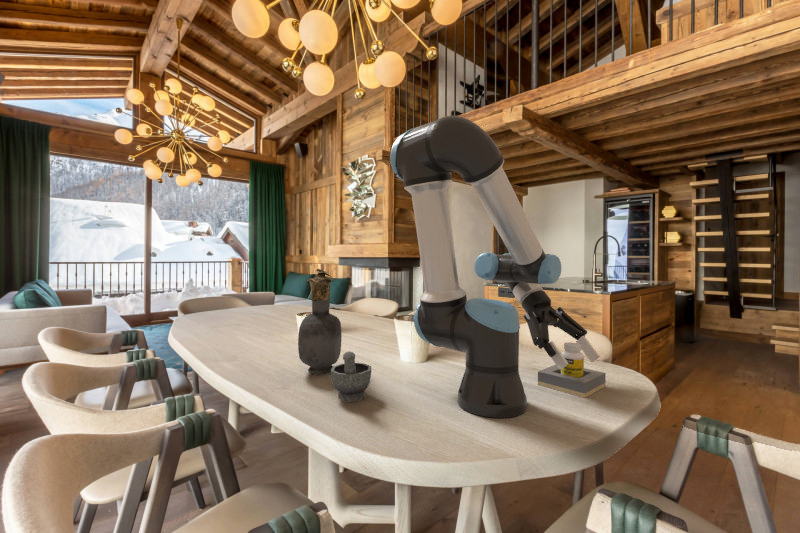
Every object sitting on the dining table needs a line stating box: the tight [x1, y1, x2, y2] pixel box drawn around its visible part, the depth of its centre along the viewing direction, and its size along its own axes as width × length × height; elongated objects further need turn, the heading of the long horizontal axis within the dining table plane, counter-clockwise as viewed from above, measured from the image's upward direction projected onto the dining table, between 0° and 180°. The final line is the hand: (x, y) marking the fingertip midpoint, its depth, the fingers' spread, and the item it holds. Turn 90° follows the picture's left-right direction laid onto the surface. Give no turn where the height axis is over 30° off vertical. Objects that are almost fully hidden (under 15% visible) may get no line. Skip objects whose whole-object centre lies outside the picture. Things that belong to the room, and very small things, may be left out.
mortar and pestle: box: [330, 351, 372, 403], centre depth 89 cm, size 11×9×12 cm
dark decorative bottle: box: [297, 268, 343, 376], centre depth 112 cm, size 11×19×30 cm, turn 0°
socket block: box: [537, 364, 607, 399], centre depth 97 cm, size 12×12×4 cm
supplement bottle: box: [561, 342, 585, 378], centre depth 97 cm, size 5×5×10 cm
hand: (580, 363), depth 95 cm, fingers open, 12 cm apart
